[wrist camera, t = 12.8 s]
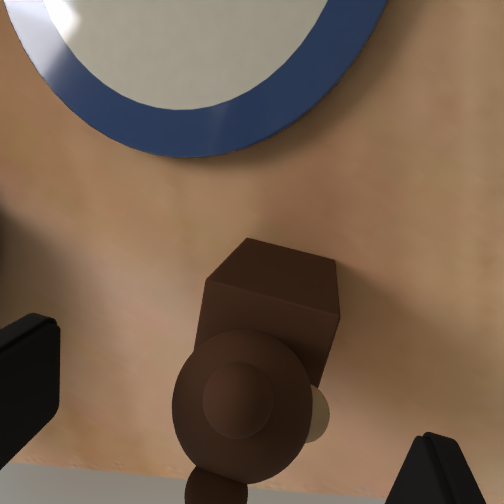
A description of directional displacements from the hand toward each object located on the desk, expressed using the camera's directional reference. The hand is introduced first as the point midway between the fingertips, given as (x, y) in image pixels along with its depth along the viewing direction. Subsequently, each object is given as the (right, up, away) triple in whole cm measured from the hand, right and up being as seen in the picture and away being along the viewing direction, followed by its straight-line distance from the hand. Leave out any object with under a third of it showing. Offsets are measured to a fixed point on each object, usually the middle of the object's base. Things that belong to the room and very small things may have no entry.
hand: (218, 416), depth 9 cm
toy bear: (+2, +2, +8) cm, 9 cm away
